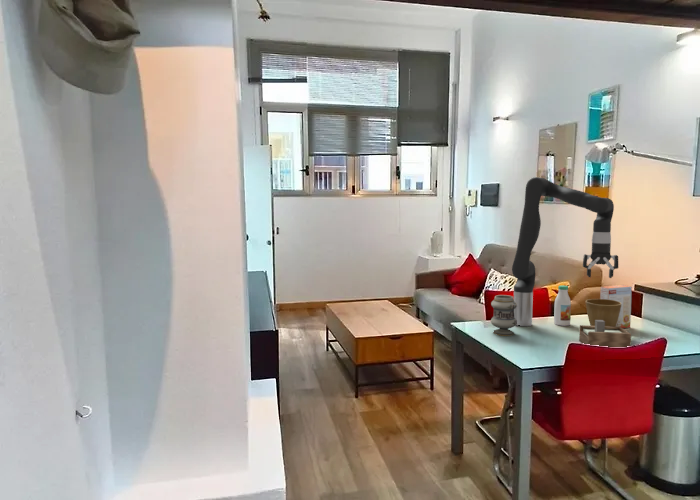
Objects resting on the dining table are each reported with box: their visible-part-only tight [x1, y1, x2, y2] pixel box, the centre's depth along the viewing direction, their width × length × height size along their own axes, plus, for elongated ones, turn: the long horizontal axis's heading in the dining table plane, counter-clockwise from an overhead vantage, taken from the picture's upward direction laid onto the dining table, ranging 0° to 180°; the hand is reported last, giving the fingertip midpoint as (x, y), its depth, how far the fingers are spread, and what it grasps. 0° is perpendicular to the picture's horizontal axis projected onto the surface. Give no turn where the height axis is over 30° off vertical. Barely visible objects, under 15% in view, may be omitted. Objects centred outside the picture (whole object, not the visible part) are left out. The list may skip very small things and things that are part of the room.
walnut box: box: [578, 324, 632, 347], centre depth 207 cm, size 17×13×7 cm
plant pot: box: [585, 298, 622, 326], centre depth 223 cm, size 15×15×16 cm
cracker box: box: [599, 284, 633, 329], centre depth 237 cm, size 14×6×21 cm, turn 106°
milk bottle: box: [553, 284, 572, 327], centre depth 244 cm, size 8×8×20 cm
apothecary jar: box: [490, 294, 518, 337], centre depth 228 cm, size 12×12×18 cm
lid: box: [583, 320, 622, 335], centre depth 206 cm, size 14×10×6 cm
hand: (599, 277), depth 216 cm, fingers open, 8 cm apart
